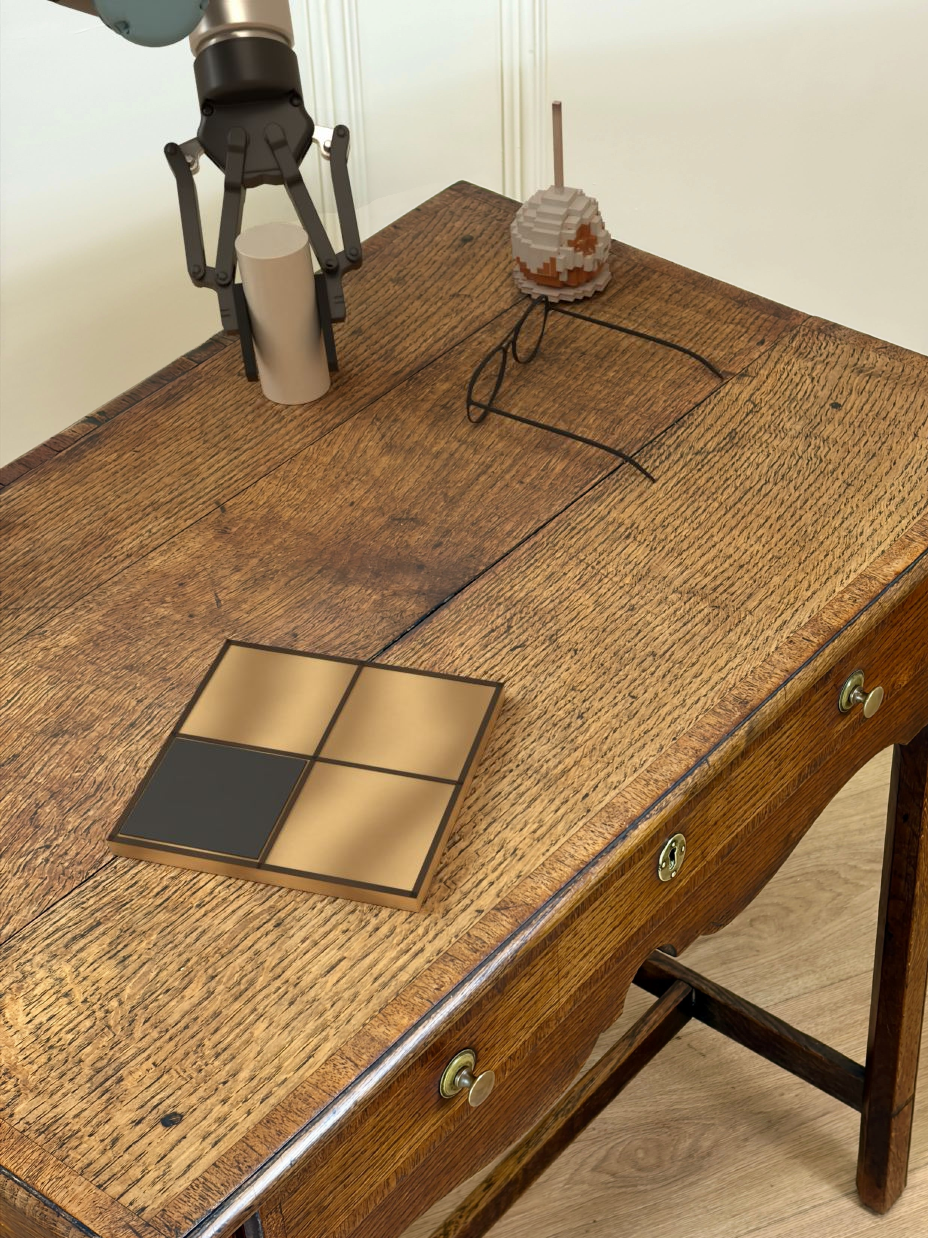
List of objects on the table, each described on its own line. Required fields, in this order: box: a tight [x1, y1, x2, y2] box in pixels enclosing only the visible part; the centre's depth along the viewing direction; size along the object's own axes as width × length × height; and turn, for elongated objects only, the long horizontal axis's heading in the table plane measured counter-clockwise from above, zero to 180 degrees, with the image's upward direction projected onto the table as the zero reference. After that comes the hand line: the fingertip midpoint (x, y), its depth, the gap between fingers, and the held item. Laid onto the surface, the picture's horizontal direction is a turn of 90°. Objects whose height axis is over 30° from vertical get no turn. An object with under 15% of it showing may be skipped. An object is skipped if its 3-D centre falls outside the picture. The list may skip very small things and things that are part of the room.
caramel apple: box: [509, 100, 612, 303], centre depth 125 cm, size 8×8×15 cm
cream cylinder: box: [235, 221, 331, 406], centre depth 116 cm, size 5×5×12 cm
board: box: [105, 638, 506, 913], centre depth 92 cm, size 18×17×1 cm
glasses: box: [465, 294, 724, 483], centre depth 116 cm, size 14×15×5 cm
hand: (292, 372), depth 116 cm, fingers closed on cream cylinder, 5 cm apart
